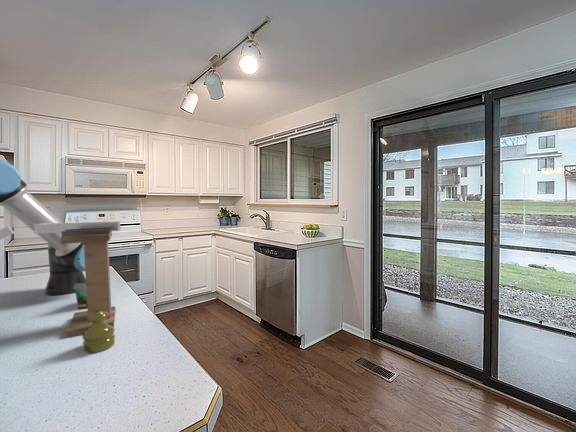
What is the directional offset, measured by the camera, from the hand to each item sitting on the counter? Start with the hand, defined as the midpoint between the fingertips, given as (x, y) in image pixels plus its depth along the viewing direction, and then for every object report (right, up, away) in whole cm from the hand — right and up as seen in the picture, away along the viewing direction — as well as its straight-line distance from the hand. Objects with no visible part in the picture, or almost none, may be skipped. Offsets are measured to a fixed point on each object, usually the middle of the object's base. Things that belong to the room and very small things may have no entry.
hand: (3, 231), depth 91 cm
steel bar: (+18, -1, +8) cm, 20 cm away
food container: (+14, -30, +22) cm, 40 cm away
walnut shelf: (+24, -31, +5) cm, 40 cm away
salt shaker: (+36, -32, -10) cm, 49 cm away
